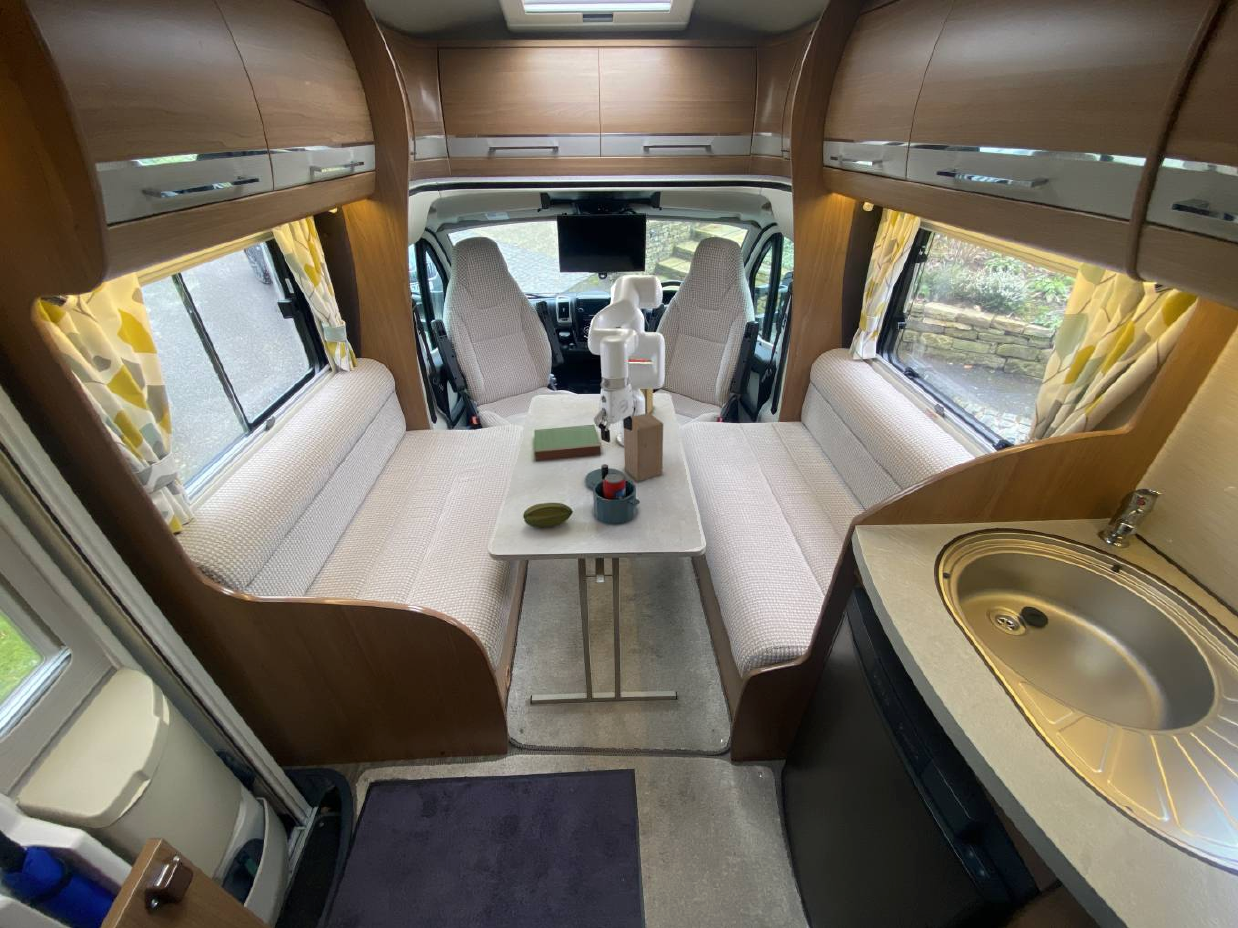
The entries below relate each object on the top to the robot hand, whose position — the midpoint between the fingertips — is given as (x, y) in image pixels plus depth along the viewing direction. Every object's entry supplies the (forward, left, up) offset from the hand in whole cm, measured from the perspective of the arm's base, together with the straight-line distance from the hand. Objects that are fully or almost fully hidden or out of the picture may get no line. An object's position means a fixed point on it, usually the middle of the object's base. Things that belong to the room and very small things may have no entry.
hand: (617, 434), depth 149 cm
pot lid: (-6, -12, -23) cm, 27 cm away
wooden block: (-19, -6, -24) cm, 31 cm away
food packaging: (-57, -40, -24) cm, 74 cm away
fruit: (+23, -8, -24) cm, 34 cm away
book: (-15, -41, -24) cm, 50 cm away
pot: (+5, +3, -24) cm, 25 cm away
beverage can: (+5, +3, -24) cm, 24 cm away
